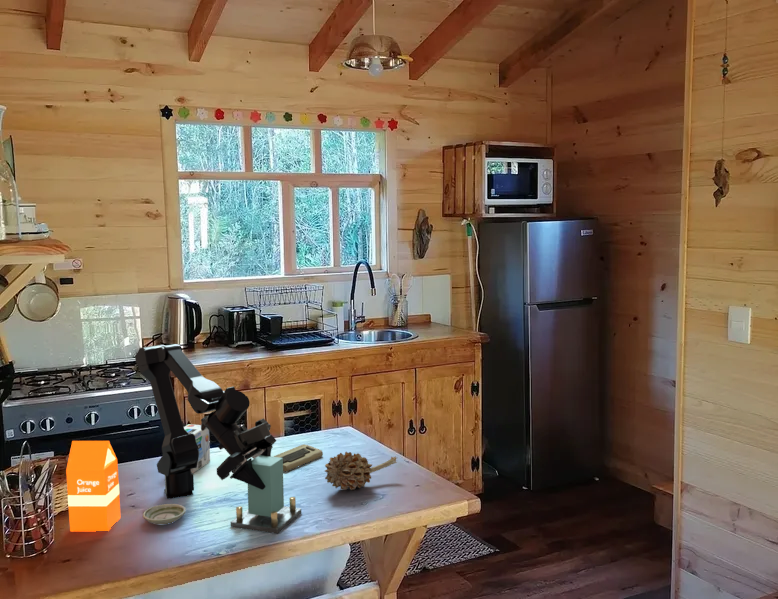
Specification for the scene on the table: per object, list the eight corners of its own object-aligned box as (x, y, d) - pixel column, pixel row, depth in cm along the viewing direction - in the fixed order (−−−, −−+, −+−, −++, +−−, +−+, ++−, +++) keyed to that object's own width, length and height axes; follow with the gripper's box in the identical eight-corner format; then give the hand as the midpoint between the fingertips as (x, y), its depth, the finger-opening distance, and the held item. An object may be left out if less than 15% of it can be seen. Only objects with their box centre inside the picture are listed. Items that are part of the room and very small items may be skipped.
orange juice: (84, 517, 177) (79, 435, 175) (121, 517, 177) (116, 435, 175) (69, 531, 169) (63, 446, 167) (107, 532, 169) (102, 446, 167)
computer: (287, 473, 207) (286, 462, 206) (265, 468, 211) (265, 457, 211) (323, 458, 219) (323, 447, 219) (302, 453, 224) (302, 442, 224)
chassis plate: (277, 533, 167) (276, 515, 167) (230, 526, 171) (230, 509, 171) (301, 513, 178) (301, 496, 178) (257, 507, 182) (256, 490, 182)
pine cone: (338, 501, 185) (337, 463, 184) (316, 491, 193) (316, 453, 191) (406, 480, 199) (405, 444, 198) (383, 471, 206) (383, 436, 205)
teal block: (271, 517, 171) (270, 466, 169) (248, 513, 173) (247, 463, 171) (283, 507, 176) (282, 457, 175) (261, 503, 178) (260, 455, 177)
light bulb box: (194, 473, 206) (192, 435, 205) (172, 472, 208) (170, 434, 207) (211, 460, 217) (209, 424, 216) (189, 459, 218) (188, 423, 217)
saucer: (186, 510, 181) (186, 501, 181) (186, 527, 172) (185, 517, 171) (144, 515, 179) (144, 505, 178) (141, 532, 169) (141, 521, 169)
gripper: (226, 422, 164) (272, 476, 162) (268, 401, 182) (310, 450, 179) (197, 453, 168) (241, 506, 165) (240, 429, 185) (281, 478, 183)
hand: (270, 483), depth 173 cm, fingers closed on teal block, 6 cm apart
